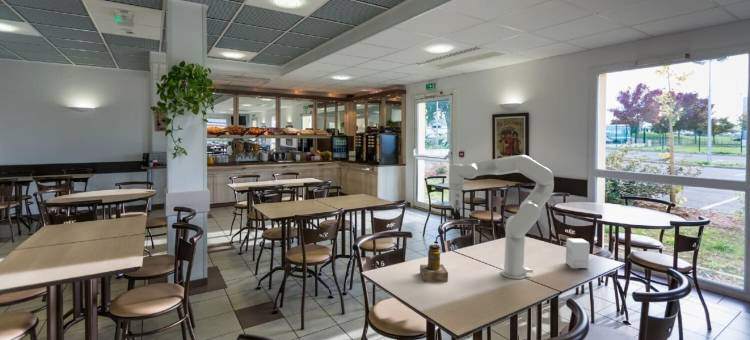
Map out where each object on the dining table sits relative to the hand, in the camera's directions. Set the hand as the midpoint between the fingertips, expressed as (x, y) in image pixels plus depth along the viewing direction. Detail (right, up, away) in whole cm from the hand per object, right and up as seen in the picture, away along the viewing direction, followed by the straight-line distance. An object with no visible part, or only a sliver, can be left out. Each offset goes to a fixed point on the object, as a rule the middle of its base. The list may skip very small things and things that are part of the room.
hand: (455, 217), depth 205 cm
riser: (-14, -30, -11) cm, 35 cm away
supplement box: (+70, -29, +7) cm, 76 cm away
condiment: (-14, -25, -12) cm, 31 cm away
